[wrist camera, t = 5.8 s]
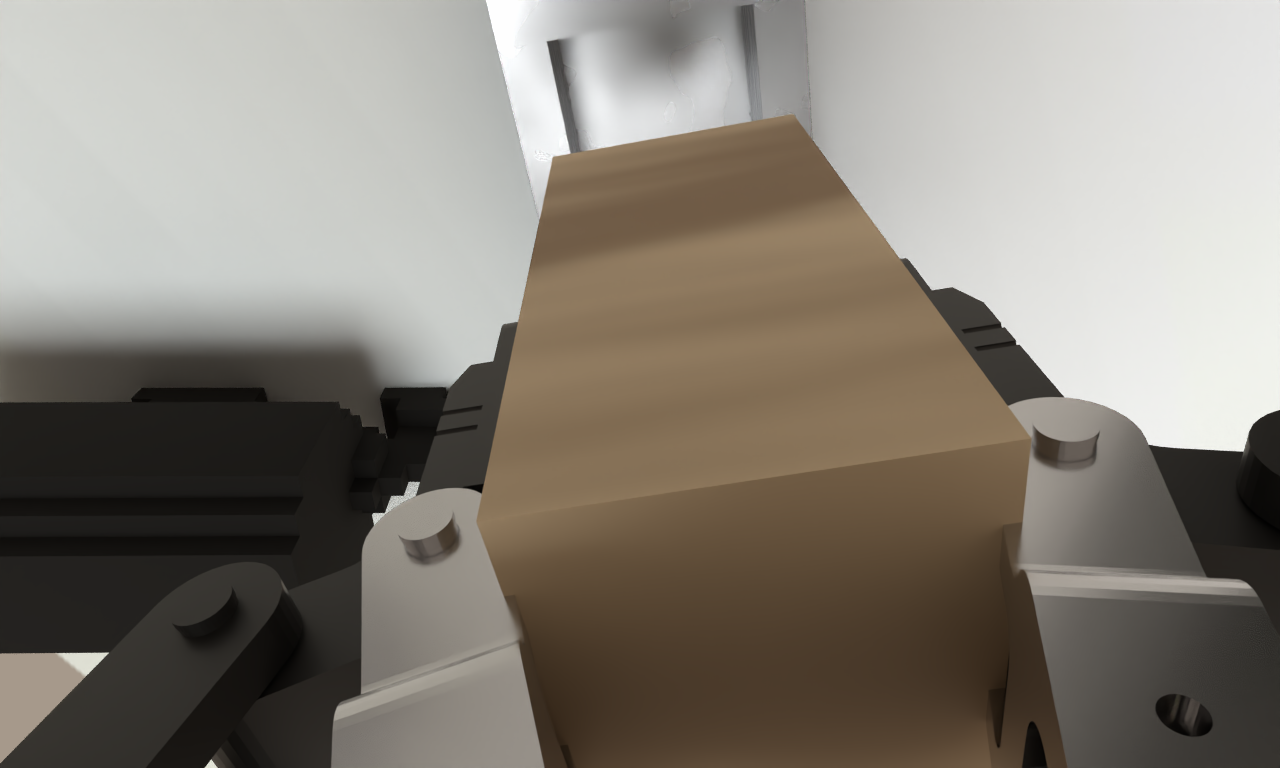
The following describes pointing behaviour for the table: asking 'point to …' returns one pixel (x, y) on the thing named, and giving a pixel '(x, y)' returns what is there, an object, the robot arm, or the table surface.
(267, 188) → the table surface
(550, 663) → the brown upright block
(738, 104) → the rail
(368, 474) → the security camera
